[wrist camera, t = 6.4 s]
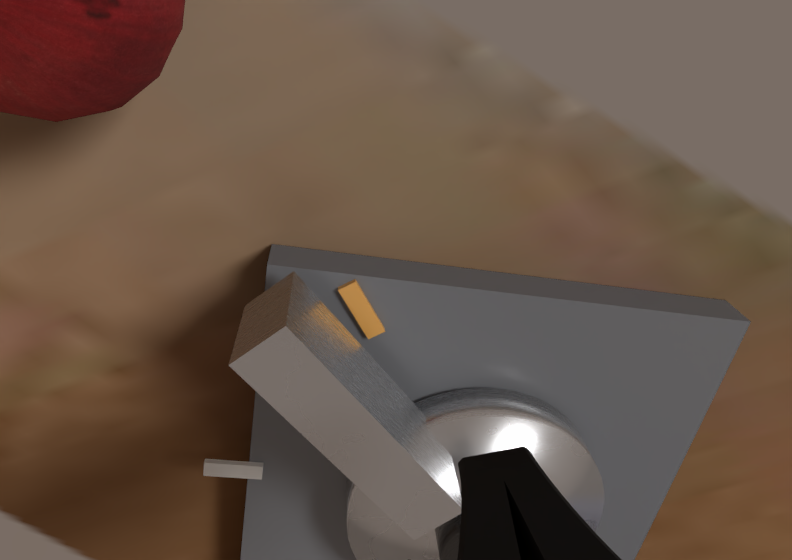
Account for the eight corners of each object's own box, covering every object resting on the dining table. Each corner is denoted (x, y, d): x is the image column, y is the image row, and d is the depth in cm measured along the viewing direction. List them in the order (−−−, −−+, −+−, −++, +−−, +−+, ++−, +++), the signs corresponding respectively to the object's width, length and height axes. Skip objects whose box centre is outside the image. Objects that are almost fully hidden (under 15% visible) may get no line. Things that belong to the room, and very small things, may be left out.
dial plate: (588, 598, 29) (602, 632, 27) (204, 581, 26) (196, 619, 25) (725, 300, 22) (754, 324, 20) (223, 238, 19) (214, 261, 18)
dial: (628, 497, 24) (677, 585, 20) (435, 601, 25) (450, 698, 22) (395, 188, 17) (409, 241, 14) (160, 355, 19) (121, 438, 16)
